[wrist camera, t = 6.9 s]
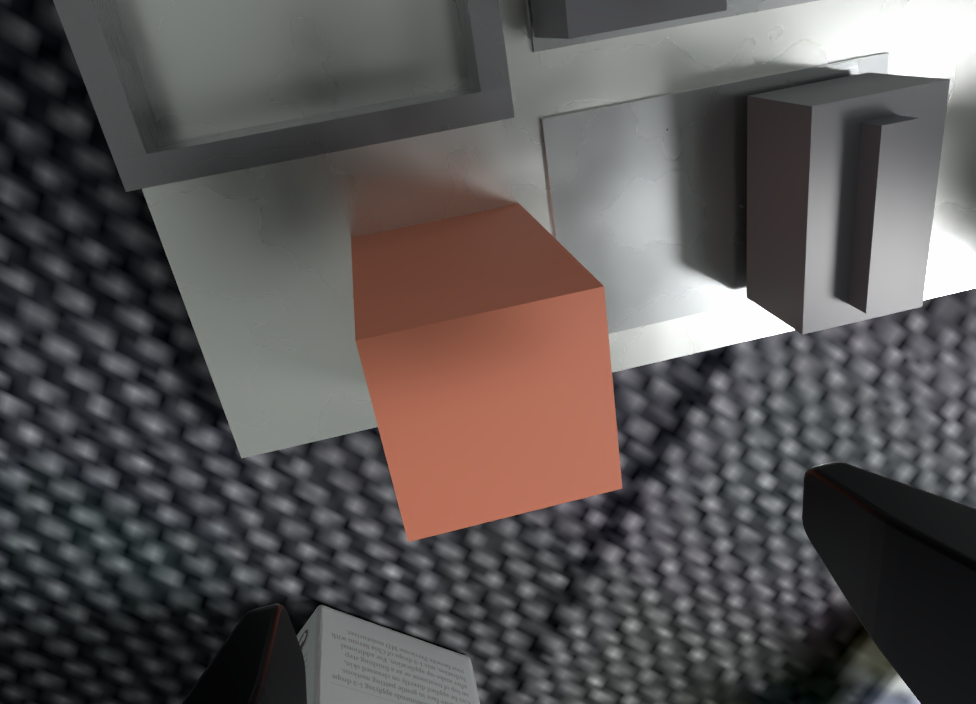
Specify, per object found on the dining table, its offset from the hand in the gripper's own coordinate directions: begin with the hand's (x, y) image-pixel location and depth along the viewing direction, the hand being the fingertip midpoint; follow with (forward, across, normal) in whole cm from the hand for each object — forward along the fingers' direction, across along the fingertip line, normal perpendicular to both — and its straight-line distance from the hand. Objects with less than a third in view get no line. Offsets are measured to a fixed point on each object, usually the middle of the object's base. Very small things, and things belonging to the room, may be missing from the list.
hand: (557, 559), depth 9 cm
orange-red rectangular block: (+10, 0, 0) cm, 10 cm away
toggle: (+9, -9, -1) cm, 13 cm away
